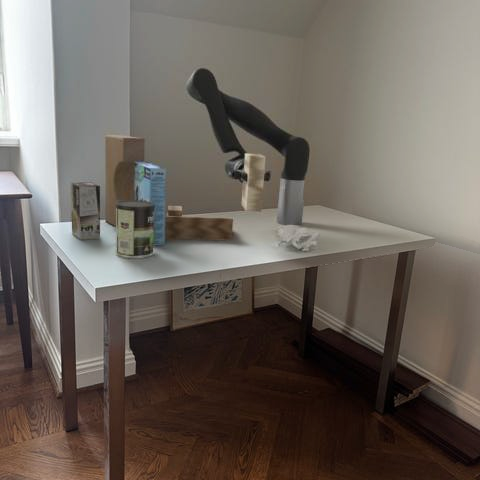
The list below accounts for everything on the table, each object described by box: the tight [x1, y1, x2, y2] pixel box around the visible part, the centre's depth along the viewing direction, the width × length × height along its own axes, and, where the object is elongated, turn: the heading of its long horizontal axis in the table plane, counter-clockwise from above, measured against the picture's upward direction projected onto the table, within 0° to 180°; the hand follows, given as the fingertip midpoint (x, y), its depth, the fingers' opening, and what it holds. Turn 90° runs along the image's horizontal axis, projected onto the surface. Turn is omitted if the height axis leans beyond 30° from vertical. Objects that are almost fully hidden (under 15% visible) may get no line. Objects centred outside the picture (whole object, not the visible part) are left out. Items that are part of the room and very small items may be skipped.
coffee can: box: [115, 200, 155, 259], centre depth 128 cm, size 10×10×14 cm
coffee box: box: [70, 181, 101, 241], centre depth 142 cm, size 9×6×16 cm
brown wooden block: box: [165, 215, 234, 241], centre depth 155 cm, size 23×14×7 cm, turn 98°
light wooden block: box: [241, 152, 267, 213], centre depth 140 cm, size 4×10×16 cm, turn 8°
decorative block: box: [104, 134, 146, 228], centre depth 157 cm, size 15×8×30 cm, turn 37°
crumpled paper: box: [276, 224, 319, 253], centre depth 147 cm, size 12×7×12 cm
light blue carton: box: [134, 161, 167, 246], centre depth 144 cm, size 20×5×23 cm, turn 25°
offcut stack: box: [166, 205, 183, 216], centre depth 154 cm, size 5×10×9 cm, turn 8°
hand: (254, 178), depth 137 cm, fingers closed on light wooden block, 4 cm apart
